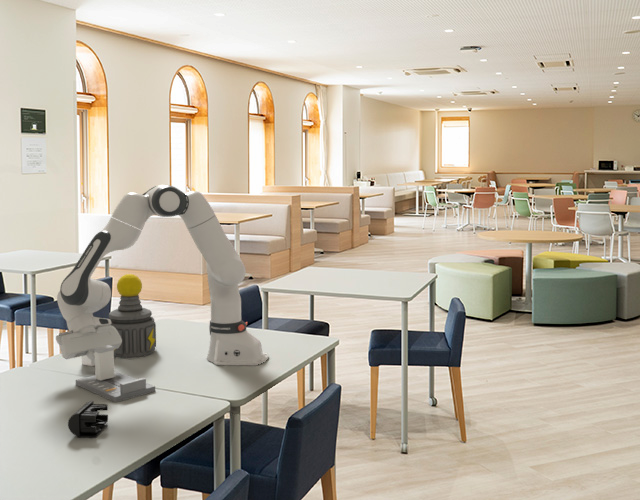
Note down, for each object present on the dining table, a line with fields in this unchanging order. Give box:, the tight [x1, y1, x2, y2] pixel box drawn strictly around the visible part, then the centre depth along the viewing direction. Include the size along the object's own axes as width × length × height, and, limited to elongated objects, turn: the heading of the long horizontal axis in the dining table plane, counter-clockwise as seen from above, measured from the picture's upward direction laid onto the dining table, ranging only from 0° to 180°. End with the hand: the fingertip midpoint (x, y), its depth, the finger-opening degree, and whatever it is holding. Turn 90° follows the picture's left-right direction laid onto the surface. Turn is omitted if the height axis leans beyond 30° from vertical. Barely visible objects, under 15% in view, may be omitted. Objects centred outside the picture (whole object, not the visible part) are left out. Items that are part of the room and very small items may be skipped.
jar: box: [81, 353, 95, 367], centre depth 242 cm, size 9×8×12 cm
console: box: [75, 370, 156, 403], centre depth 215 cm, size 24×14×5 cm, turn 47°
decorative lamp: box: [108, 273, 157, 359], centre depth 255 cm, size 19×19×30 cm
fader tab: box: [94, 345, 115, 380], centre depth 218 cm, size 3×5×10 cm, turn 137°
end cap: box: [67, 400, 109, 439], centre depth 180 cm, size 10×7×7 cm
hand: (100, 363), depth 221 cm, fingers closed
